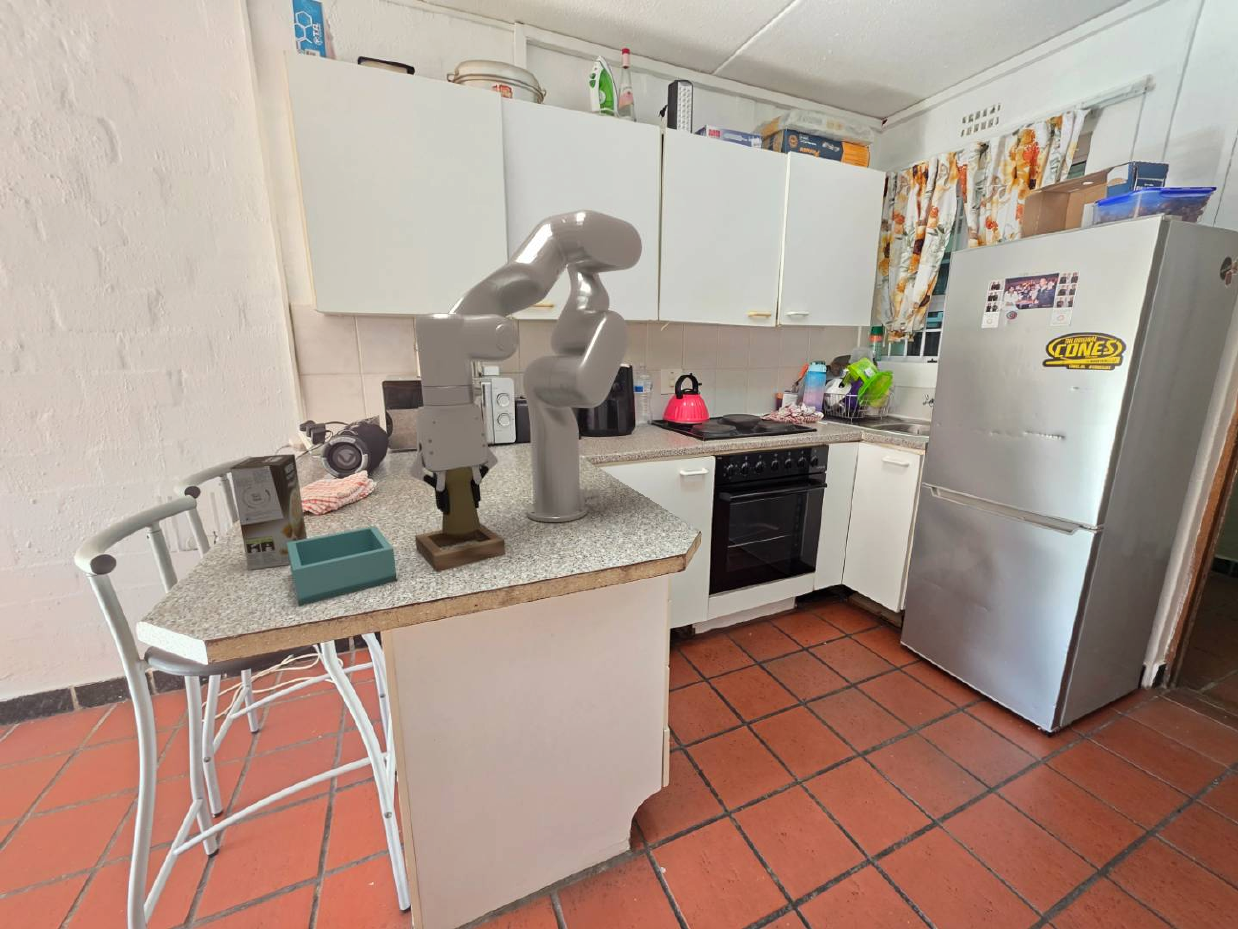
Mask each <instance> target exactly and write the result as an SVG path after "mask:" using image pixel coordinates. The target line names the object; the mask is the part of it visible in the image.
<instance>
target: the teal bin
mask: <svg viewBox="0 0 1238 929" xmlns="http://www.w3.org/2000/svg"><path fill="white" fill-rule="evenodd" d="M287 548H288V554H289V560H290V565H289V566H290V571H291V577H292V581H293V582H292V583H293V586H294V591H295V594H296V595H295V596H296V601H297V604H298V605H297V606H298V607H300V606H301V607H302V606H305V605H309V604H312V603H317V602H320V601H323V600H328V599H332V598H337V597H339V596H343V595H347V594H348V595H349V594H351V593H355V592H359V591H363V590H367V589H370V588H374V587H378V586H383V585H387V584H390V583H394V582H397V581H398V579H397V569H396V568H397V567H396V560H395V559H396V558H395V550H394V547H393V546H392V545H391V543H390V542H389V541H388V540H387V538H386V537H385V536H384V535H383V533H382V531H381V530H380V529H379V528H378V527H377V526H376V525H372V526H367V527H362V528H356V529H351V530H346V531H342V532H341V531H340V532H336V533H330V534H325V535H319V536H314V537H310V538H308V537H307V539H303V540H298V541H292V542H287Z"/></svg>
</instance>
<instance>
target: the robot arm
mask: <svg viewBox="0 0 1238 929" xmlns="http://www.w3.org/2000/svg"><path fill="white" fill-rule="evenodd" d="M642 251H643V244H642V239H641V236H640V233H639V232H638V230H637V229H636V227H635V226H634V225H633V224H631V223H630V222H628V221H626V220H624V219H621V218H617V217H614V216H611V215H610V214H609V215H608V214H605V213H602V212H599V211H596V210H592V209H591V210H590V209H579V210H573V211H569V212H565V213H560V214H559V213H558V214H554V215H551V216H548V217H545V218H544V219H542V220H541V221H539V222H538V224H536V225H535V227H534V228H533V229H532V231H530V233H529V234H528V235H527V237H526V238H525V239H524V240H523V242H522V243H521V245H519V247H518V248H517V250H516V251H514V253H513V254H512V255H511V257H510V258H509V260H508V261H507V262H505V264H503V265H502V266H501V267H499V268H498V269H496V270H495V271H493V272H492V273H491V274H489V275H488V276H487V277H485V278H484V279H482V280H481V281H480V282H479V283H477V284H475V285H474V286H472V287H471V288H470V289H469V290H467V291H466V292H465V293H464V294H463V295H462V296H461V297H460V298H459V299H458V300H457V301H456V303H455V304H454V305H452V307H451V309H450V310H449V311H448V312H446V313H445V312H443V313H442V312H438V313H437V312H435V313H432V312H431V313H429V312H428V313H423V314H420V315H419V316H417V317H416V319H415V322H414V325H415V326H414V327H415V328H414V329H415V339H416V345H417V347H416V348H417V355H418V365H419V374H420V383H421V384H420V385H421V393H422V402H423V403H422V404H423V406H419V407H417V414H416V415H417V417H416V451H417V456H416V458H415V460H414V461H413V463H412V465H411V466H410V469H409V471H408V474H409V475H410V476H411V477H413V478H414V479H416V480H419V481H422V482H424V483H426V485H429V486H430V487H432V488H434V495H435V497H434V498H435V505H436V508H437V509H438V510H440V512H441V513H442V514H443V513H444V514H445V515H448V514H449V513H450V504H449V494H448V491H447V490H445V473H446V471H449V470H452V469H455V468H459V467H471V468H472V471H473V477H472V480H471V481H470V483H471V488H472V493H473V499H474V504H475V508H476V509H477V510H478V509H479V508H480V504H479V502H481V500H482V498H481V488H480V487H481V484H482V482H483V479H484V478H485V477H486V475H487V474H488V473H489V471H490V470H492V469H493V468H494V467H495V466H496V465H498V463H499V460H498V458H497V457H496V455H495V454H494V452H492V450H491V449H490V448H489V446H488V439H487V434H486V433H487V432H486V427H485V422H484V419H483V416H482V411H481V408H480V405H479V403H475V402H476V400H477V398H478V397H481V396H483V390H482V389H483V388H482V387H477V386H475V384H474V381H473V379H474V378H473V368H472V366H473V365H472V362H473V363H478V362H479V363H499V362H503V361H506V360H507V359H510V358H511V357H512V356H513V355H515V353H516V351H517V350H518V348H519V345H520V344H519V343H520V334H519V331H518V329H517V327H516V325H515V324H514V323H513V322H512V321H511V320H510V319H508V318H507V317H508V316H511V315H514V314H516V313H518V312H522V311H523V310H526V309H530V307H533V306H534V305H536V304H539V303H540V302H542V301H544V299H545V298H546V297H547V296H548V294H549V292H550V291H551V290H552V288H553V287H554V285H555V284H556V283H557V282H558V280H559V279H560V277H561V275H562V274H563V273H564V271H565V270H566V269H567V273H568V277H569V282H570V291H569V292H570V293H569V295H568V298H567V300H566V302H565V304H564V306H563V309H562V310H561V312H560V314H559V316H558V318H557V321H556V323H555V325H554V326H553V329H552V333H551V336H550V346H551V349H552V351H553V353H554V354H555V355H546V356H540V357H537V358H535V359H533V360H531V361H530V362H529V363H528V364H527V365H526V367H525V369H524V371H523V375H522V388H523V392H524V396H525V401H526V405H527V406H526V407H527V410H528V417H529V418H528V419H529V428H530V429H529V430H530V432H529V433H530V453H531V454H530V456H531V478H532V479H531V480H532V482H531V483H532V500H533V501H532V503H531V504H529V505H528V506H527V507H526V508H525V515H526V516H527V517H528V518H529V519H531V520H534V521H536V522H542V523H543V522H544V523H563V522H570V521H571V522H572V521H574V520H578V519H582V518H583V517H585V515H587V514H588V511H589V510H588V507H589V506H588V505H587V504H586V502H587V501H588V500H593V499H594V500H595V499H598V498H600V496H601V492H600V490H599V489H598V488H595V489H590V490H588V489H587V488H581V487H580V486H581V484H580V480H581V479H580V451H579V449H580V448H579V446H580V445H579V444H580V443H579V438H580V436H579V434H580V432H579V425H578V421H577V419H576V416H575V414H574V412H573V410H572V408H579V409H581V408H582V409H592V408H596V407H598V406H600V405H601V404H602V403H604V401H605V400H606V398H607V397H608V396H609V393H610V391H611V389H612V387H613V385H614V382H615V380H616V377H617V375H618V372H619V370H620V369H621V366H622V363H623V361H624V358H625V356H626V353H627V349H628V344H629V329H628V328H629V327H628V324H627V322H626V320H625V318H624V317H623V316H622V315H621V314H620V313H619V312H616V311H614V310H610V296H609V293H608V291H607V289H606V287H605V286H604V284H603V282H602V280H601V277H600V273H607V272H616V271H625V270H628V269H632V268H634V267H635V266H636V265H637V264H638V263H639V260H640V258H641V256H642ZM423 469H426V470H427V471H428V472H431V473H432V474H431V475H430V474H428V473H426V472H424V471H423Z"/></svg>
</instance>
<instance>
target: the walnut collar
mask: <svg viewBox="0 0 1238 929" xmlns="http://www.w3.org/2000/svg"><path fill="white" fill-rule="evenodd" d="M414 539H415V546H416V548H415V549H416V551H417V552H418V554H420V555H421V556H422V557H423V559H425V561H426V562H427V563H428V564H429V565H430V567H432V568H433V570H434V571H435V572H436V573H438V572H442V571H445V570H450V569H453V568H457V567H462V566H465V565H469V564H473V563H478V562H481V561H484V560H488V558H489V559H492V558H496V557H500V556H501V557H502V556H504V554H505V555H506V546H505V542H506V541H505V539H503V537H501V536H500V535H498V534H496V533H495V532H494V531H492V530H491V529H489V527H487V526H485V525H484V524H483V523H481V522H480V527H479V528H478V529H477V530H475V531H472V532H469V533H465V534H447V533H444V532H443V531H442V529H438V530H435V531H429V532H425V533H420V534H416V535H415V538H414ZM474 540H475V541H476V542H475V543H470V544H467V545H462V546H459V547H453V548H450V549H446V550H442V549H441V548H444V547H448V546H452V545H456V544H461V543H465V542H469V541H474Z"/></svg>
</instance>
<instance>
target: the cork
mask: <svg viewBox="0 0 1238 929" xmlns="http://www.w3.org/2000/svg"><path fill="white" fill-rule="evenodd" d="M472 477H473V471H472V468H471V467H459V468H455V469H452V470H449V471H446V473H445V490H447V491H448V494H449V504H450V513H449V514H448V515H445V514H444V513H443V512H442V523H441V524H442V526H441V530H442V531H443V532H444V533H447V534H465V533H469V532H472V531H475V530H477V529H478V528H479V527H480V523H481V521H480V517H479V514H478V508H477V509H476V508H475V504H474V499H473V493H472V488H471V483H470V481H471V480H472Z"/></svg>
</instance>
